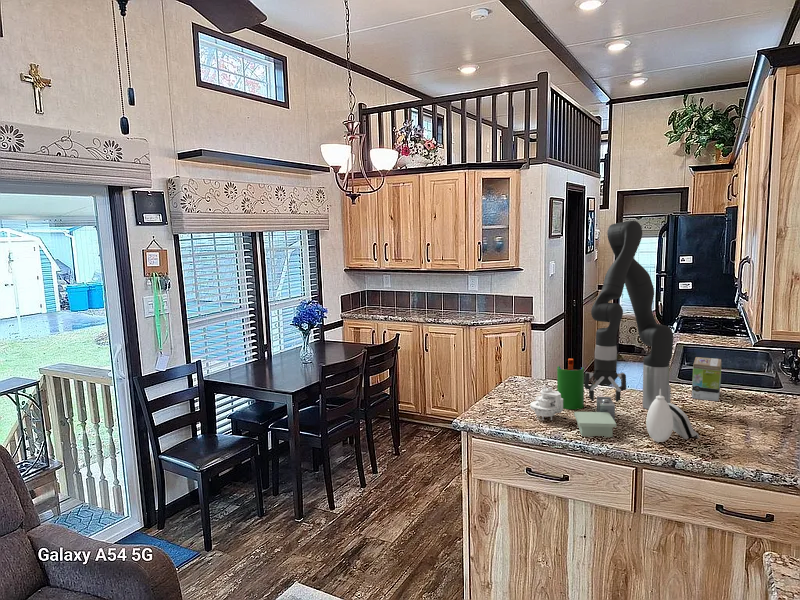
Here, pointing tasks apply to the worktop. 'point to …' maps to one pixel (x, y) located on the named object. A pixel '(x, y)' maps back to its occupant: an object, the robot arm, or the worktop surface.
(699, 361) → the tea box
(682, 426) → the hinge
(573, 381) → the motor
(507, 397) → the worktop surface
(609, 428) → the stand
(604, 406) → the housing
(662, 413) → the sauce bottle
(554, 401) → the mechanical part
